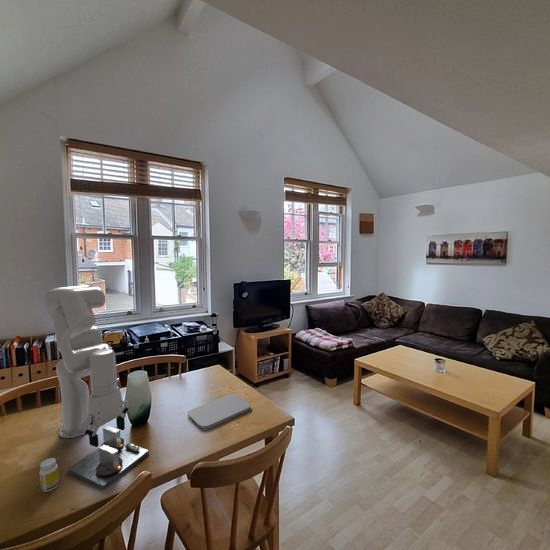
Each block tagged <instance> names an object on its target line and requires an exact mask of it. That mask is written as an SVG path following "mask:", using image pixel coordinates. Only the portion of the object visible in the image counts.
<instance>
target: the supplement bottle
mask: <svg viewBox="0 0 550 550" xmlns="http://www.w3.org/2000/svg"><path fill="white" fill-rule="evenodd" d="M39 465H40V466H39V469H40V470H39V475H38V476H39V483H40V491H41V492H43V493H47V492H51V491H53V490H55V489H56V488H57V487H58V486H59V484H60V475H59V465H58V464H57V460H56V457H50V458H47V459H44V460H43V461H41V462H40V464H39Z"/></svg>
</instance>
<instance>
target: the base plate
mask: <svg viewBox="0 0 550 550" xmlns="http://www.w3.org/2000/svg"><path fill="white" fill-rule="evenodd" d="M147 456H149V450H148V449H146V448H143V447H141V446H139V445H137V444H135V443H131V442H127V441H125V440H124V445H123V447H122V448H121V449H119V450H118V457H119V458H121V459H122V461H123V465H122V467H121V469H120V470H119V471H117V472H116V473H114V474H112V475H110V476H105V477H101V476H98V475H97V474H96V467H97V466H98V465H99V464H100V456H99V447H97V449H95V450H94V451H92V452H91V453H89V454H87V455H86V456H84V457H83V458H81V459H79V460H78V461H76V462H75V463H74V464H72V465H71V466H69V467H67V473H68V474H70V475H72V476H74V477H76V478H78V479H81V481H84V482H86V483H89V484H90V485H92V486H94V487H96V488H98V489H101V490H103V491H105V490H106V489H107V488H108V487H109V486H111V485H112V484H114V482H116V481H117V480H118V479H119V478H121V477H122V476H123V475H125V474H126V473H127V472H128V471H130V470H131V469H132V468H133V467H134V466H135V465H137V464H138V463H140V462H141V461H142V460H143V459H145V457H147Z"/></svg>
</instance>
